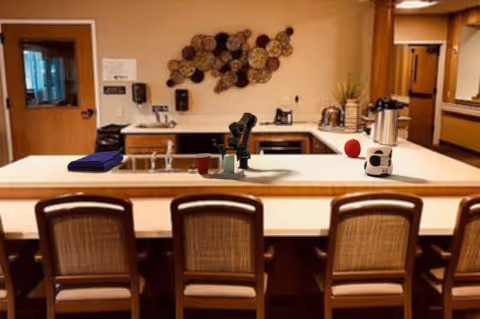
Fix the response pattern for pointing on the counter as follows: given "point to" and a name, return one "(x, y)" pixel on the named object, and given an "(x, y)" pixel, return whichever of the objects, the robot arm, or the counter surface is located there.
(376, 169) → the milk container
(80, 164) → the towel
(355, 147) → the tomato
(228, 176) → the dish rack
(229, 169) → the pale green upright block
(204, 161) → the plastic cup
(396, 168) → the counter surface
